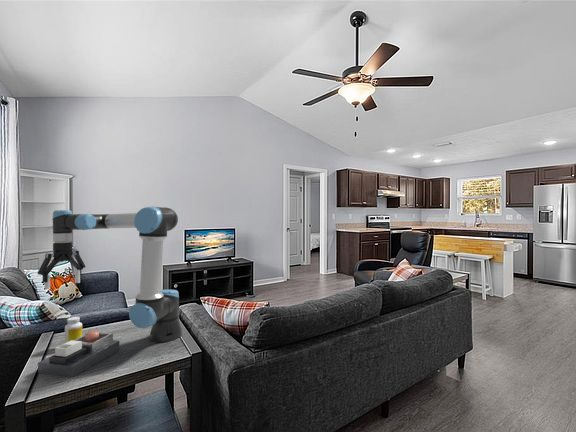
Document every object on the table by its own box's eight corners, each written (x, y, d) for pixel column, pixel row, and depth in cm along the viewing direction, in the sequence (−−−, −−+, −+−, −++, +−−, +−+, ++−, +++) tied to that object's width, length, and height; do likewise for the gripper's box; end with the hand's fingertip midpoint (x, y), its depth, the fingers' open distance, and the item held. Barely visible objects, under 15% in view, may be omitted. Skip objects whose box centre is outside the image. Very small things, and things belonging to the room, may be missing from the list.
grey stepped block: (119, 349, 131) (119, 332, 131) (73, 377, 109) (73, 357, 109) (89, 346, 134) (89, 330, 134) (38, 372, 112) (38, 353, 112)
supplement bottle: (85, 343, 137) (85, 316, 137) (71, 350, 131) (71, 321, 131) (75, 342, 140) (75, 315, 140) (61, 347, 133) (61, 319, 133)
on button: (81, 348, 119) (81, 340, 119) (65, 356, 112) (65, 348, 112) (71, 347, 120) (71, 340, 120) (55, 355, 113) (55, 347, 113)
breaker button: (101, 337, 129) (101, 331, 129) (92, 342, 124) (92, 335, 124) (92, 337, 129) (92, 330, 129) (82, 341, 125) (82, 334, 125)
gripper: (83, 239, 154) (83, 279, 154) (27, 244, 131) (27, 291, 130) (93, 240, 151) (93, 280, 151) (38, 244, 128) (38, 292, 128)
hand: (63, 285), depth 141 cm, fingers open, 13 cm apart
